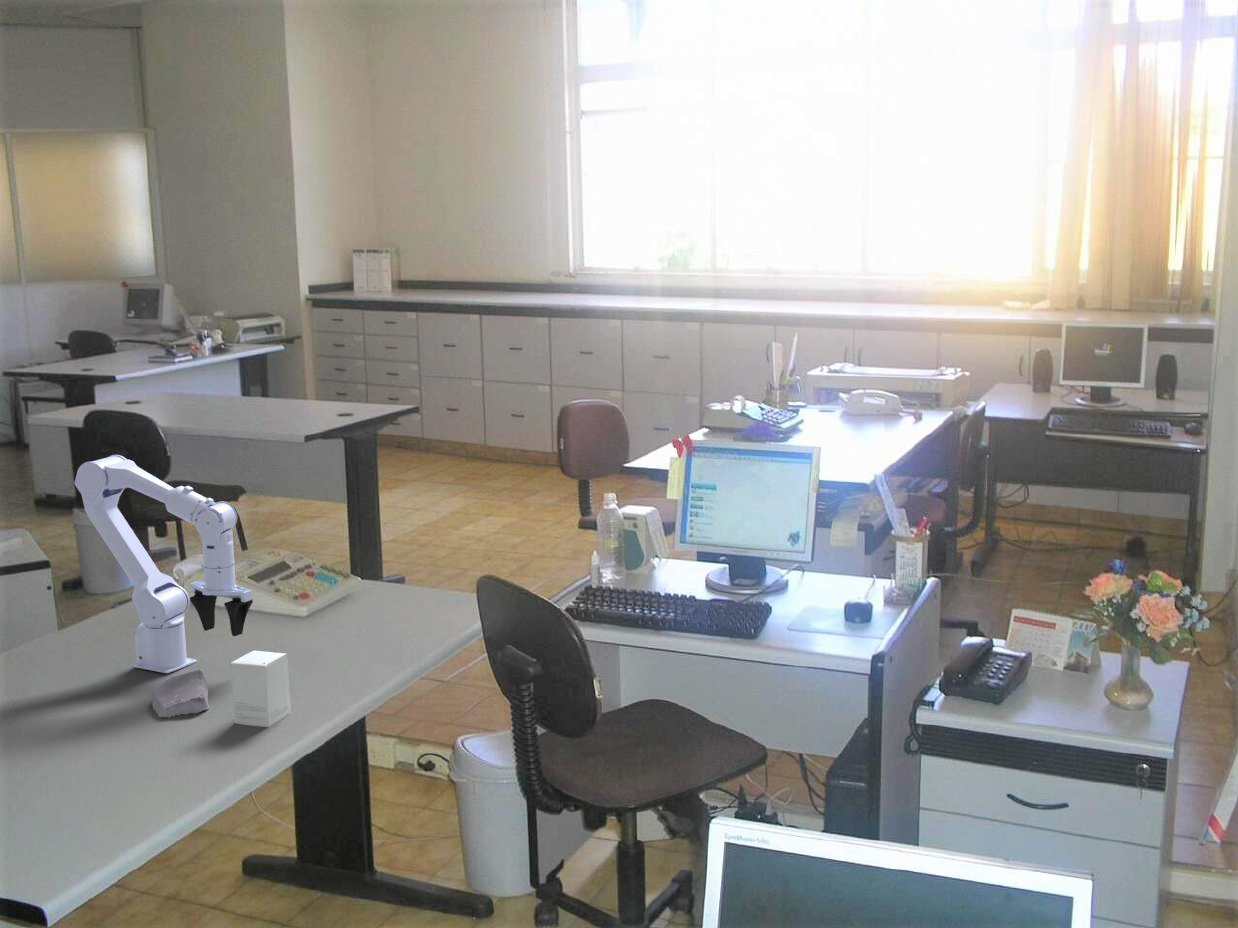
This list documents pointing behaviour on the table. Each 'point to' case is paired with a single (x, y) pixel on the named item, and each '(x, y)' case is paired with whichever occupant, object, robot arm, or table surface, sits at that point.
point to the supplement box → (260, 688)
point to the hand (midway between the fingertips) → (223, 631)
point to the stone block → (181, 695)
